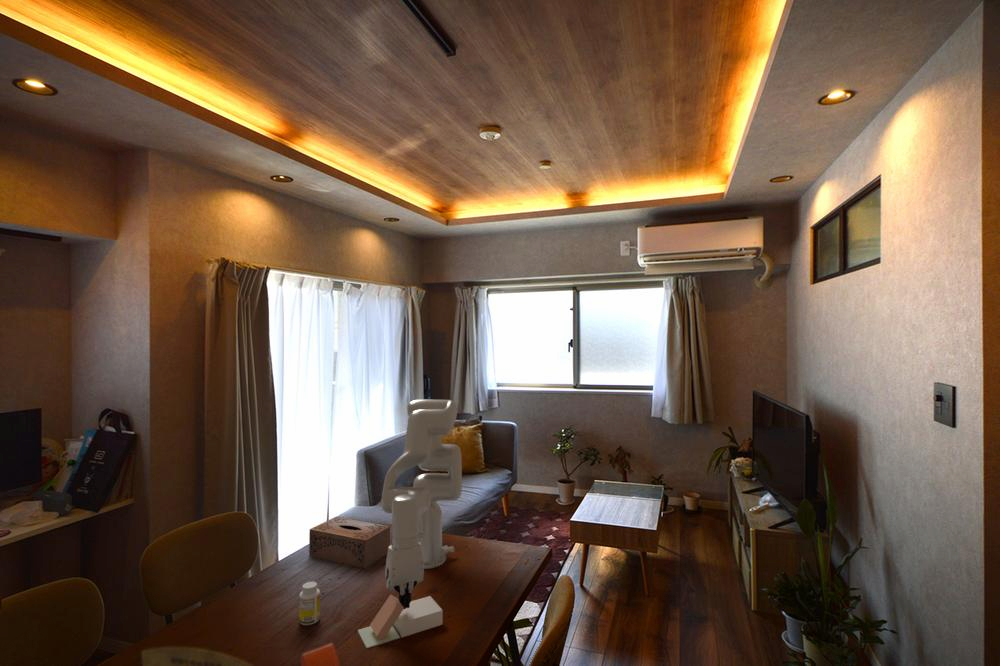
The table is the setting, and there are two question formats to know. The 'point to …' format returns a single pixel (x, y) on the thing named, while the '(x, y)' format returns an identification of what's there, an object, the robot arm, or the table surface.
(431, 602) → the white rectangular block
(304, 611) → the supplement bottle
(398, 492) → the robot arm
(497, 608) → the table surface
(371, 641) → the mat
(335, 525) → the tissue box cover
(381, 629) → the pink rectangular block
